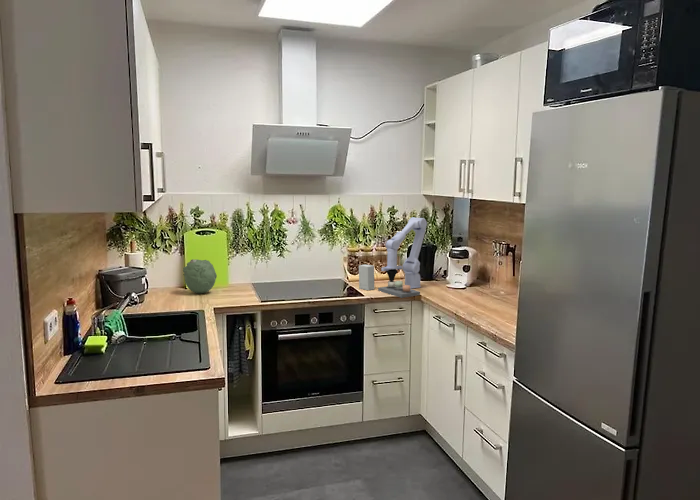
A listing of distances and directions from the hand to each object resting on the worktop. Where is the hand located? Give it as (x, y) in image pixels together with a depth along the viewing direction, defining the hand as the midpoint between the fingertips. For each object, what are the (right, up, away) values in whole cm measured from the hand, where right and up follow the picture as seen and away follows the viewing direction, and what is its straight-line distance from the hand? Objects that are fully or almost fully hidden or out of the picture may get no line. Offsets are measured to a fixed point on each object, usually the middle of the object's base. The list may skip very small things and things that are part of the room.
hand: (391, 281), depth 307 cm
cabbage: (-112, -6, -13) cm, 113 cm away
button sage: (+4, -3, -6) cm, 7 cm away
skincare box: (-15, -5, +5) cm, 17 cm away
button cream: (0, -3, 0) cm, 3 cm away
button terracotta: (+8, -5, -11) cm, 14 cm away
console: (+4, -6, -5) cm, 9 cm away
